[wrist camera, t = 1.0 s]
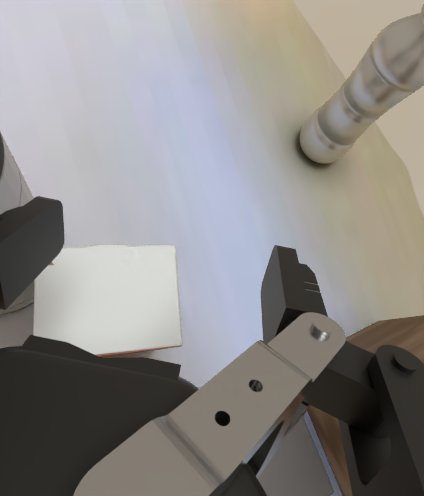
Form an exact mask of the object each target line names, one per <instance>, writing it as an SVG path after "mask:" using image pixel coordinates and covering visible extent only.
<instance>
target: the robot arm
mask: <svg viewBox="0 0 424 496" xmlns="http://www.w3.org/2000/svg"><path fill="white" fill-rule="evenodd" d="M63 244H64V223H63V207H62V203H61V202H60V201H59V200H54V199H49V198H45V197H40V196H38V197H35V198H34V197H33V195H32V193H31V191H30V189H29V187H28V185H27V183H26V181H25V179H24V177H23V175H22V173H21V171H20V169H19V167H18V165H17V163H16V161H15V159H14V157H13V155H12V154H11V152H10V150H9V148H8V146H7V144H6V142H5V140H4V138H3V136H2V134H1V132H0V314H4V313H8V312H13V311H17V310H19V309H21V308H24V307H26V306H28V305H30V304H31V303H33V302H34V280H35V279H36V278H37V277H38V276H39V274H40V273H41V272H42V271H43V270H44V269H45V268H46V267H47V266H48V265H49V264H50V263H51V262H52V261H53V260H54V259H55V258H56V257H57V256H58V254H59V253H60V252H61V250H62V248H63ZM317 284H318V283H317V280H316V277H315V274H314V273H313V272H312V270H311V269H310V268H309V267H308V266H307V265H305V264H300V263H299V261H298V257H297V253H296V250H295V249H292V248H287V247H282V246H277V245H275V246H274V248H273V251H272V254H271V257H270V260H269V263H268V266H267V269H266V272H265V275H264V278H263V282H262V287H261V307H262V325H263V341H262V340H260V341H257V342H256V343H254V344H253V345H252V346H251V347H250V348H248V349H247V350H246V351H245V352H244V353H242V354H241V355H240V356H239V357H237V358H236V359H235V360H234V361H233V362H231V363H230V364H229V365H228V366H227V367H225V368H224V369H223V370H222V371H220V372H219V373H218V374H217V375H216V376H214V377H213V378H212V379H211V380H210V381H208V382H207V383H206V384H205V385H204V386H202V387H201V388H200V389H198V388H197V387H196V386H194V385H193V384H191V383H190V382H188V381H187V380H185V379H183V378H181V377H179V372H180V367H181V365H179V364H174V363H169V362H164V361H159V360H154V359H149V358H102V357H99V356H96V355H94V354H92V353H90V352H88V351H85V350H83V349H81V348H79V347H77V346H75V345H72V344H70V343H68V342H64V341H59V340H54V339H49V338H44V337H39V336H34V335H30V336H29V338H28V339H27V340H26V341H25V343H24V344H23V345H22V346H16V347H7V348H2V349H0V496H267V494H266V492H265V491H264V489H263V487H262V486H261V484H260V482H259V481H258V477H259V476H260V475H261V473H262V472H263V471H264V469H265V468H266V466H267V465H268V463H269V462H270V460H271V459H272V457H273V455H274V454H275V452H276V451H277V449H278V448H279V446H280V445H281V444H282V442H283V441H284V440H285V438H286V437H287V436H288V434H289V433H290V432H291V430H292V429H293V428H294V426H295V425H296V424H297V422H298V421H299V420H300V419H301V417H302V416H303V415H304V413H305V412H306V411H307V409H308V408H309V407H310V405H311V406H313V407H315V408H317V409H319V410H321V411H323V412H325V413H327V414H329V415H331V416H333V417H335V418H337V419H338V421H339V426H340V432H341V437H342V442H343V448H344V453H345V458H346V464H347V469H348V474H349V480H350V485H351V490H352V496H424V363H423V362H422V361H421V360H420V359H418V358H417V357H416V356H415V355H413V354H412V353H410V352H409V351H407V350H405V349H403V348H400V347H397V346H394V345H382V346H380V347H379V348H378V349H377V350H376V352H375V353H371V352H369V351H367V350H364V349H362V348H360V347H358V346H355V345H353V344H351V343H349V342H348V341H346V336H345V333H344V331H343V329H342V328H341V327H340V326H339V325H338V324H337V323H336V322H335V321H334V320H332V319H331V318H329V317H328V316H327V312H326V309H325V306H324V303H323V299H322V296H321V293H320V290H319V286H318V285H317Z"/></svg>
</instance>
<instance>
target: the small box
mask: <svg viewBox="0 0 424 496" xmlns="http://www.w3.org/2000/svg"><path fill="white" fill-rule="evenodd" d="M33 335H34V336H39V337H44V338H49V339H54V340H59V341H64V342H68V343H70V344H72V345H75V346H77V347H79V348H81V349H83V350H85V351H88V352H90V353H92V354H94V355H96V356H99V357H102V356H110V355H119V354H127V353H135V352H142V351H149V350H159V349H166V348H173V347H180V346H182V333H181V318H180V303H179V288H178V272H177V256H176V247H175V246H173V245H91V246H76V247H63V248H62V250H61V252H60V253H59V254H58V256H57V257H56V258H55V259H54V260H53V261H52V262H51V263H50V264H49V265H48V266H47V267H46V268H45V269H44V270H43V271H42V272H41V273H40V274H39V276H38V277H37V278H36V279H35V280H34V318H33Z"/></svg>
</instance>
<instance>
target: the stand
mask: <svg viewBox="0 0 424 496" xmlns="http://www.w3.org/2000/svg"><path fill="white" fill-rule="evenodd" d="M346 341H348V342H349V343H351V344H353V345H355V346H358V347H360V348H362V349H364V350H367V351H369V352H371V353H375V352H376V350H377V349H378V348H379V347H380V346H382V345H394V346H397V347H400V348H403V349H405V350H407V351H409V352H410V353H412V354H413V355H415V356H416V357H417V358H418V359H420V360H421V361H422V362H423V363H424V316H416V317H408V318H399V319H391V320H383V321H378V322H376V323H374V324H372V325H370V326H368V327H366V328H364V329H362V330H360V331H358V332H357V333H355V334H353V335H351V336H349V337H347V338H346ZM307 411H308V413H309V416H310V418H311V420H312V423H313V425H314V427H315V430H316V432H317V435H318V437H319V439H320V442H321V444H322V447H323V449H324V451H325V454H326V456H327V458H328V461H329V463H330V466H331V468H332V470H333V473H334V475H335V478H336V480H337V482H338V485H339V487H340V489H341V492H342V494H343V496H352V490H351V485H350V480H349V474H348V469H347V464H346V458H345V453H344V448H343V442H342V437H341V432H340V426H339V421H338V419H337V418H335V417H333V416H331V415H329V414H327V413H325V412H323V411H321V410H319V409H317V408H315V407H313V406H311V405H310V407H309V408H308V409H307Z"/></svg>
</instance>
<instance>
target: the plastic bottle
mask: <svg viewBox="0 0 424 496" xmlns="http://www.w3.org/2000/svg"><path fill="white" fill-rule="evenodd" d="M423 85H424V5H423V7H422V12H421V13H419V14H415V15H411V16H408V17H405V18H402V19H400V20H397V21H395V22H393V23H391V24H390V25H388V26H387V27H386V28H384V29H383V30H382V31H381V32H380V33H379V34H378V35H377V37H376V38H375V39H374V41H373V42H372V44H371V45H370V47H369V48H368V50H367V51H366V53H365V55H364V56H363V58H362V59H361V61H360V62H359V64H358V65H357V67H356V68H355V70H354V71H353V72H352V74H351V75H350V76H349V77H348V79H347V80H346V82H345V83H344V84H343V85H342V86H341V88H340V89H339V90H338V91H337V92H336V93H335V94H334V95H333V96H332V97H331V98H330V99H329V100H328V101H327V102H326V103H325V104H324V105H323V106H322V107H320V108H319V109H317V110H316V111H315V112H314V113H313V114H311V115H310V116H309V117H308V118H307V120H306V121H305V123H304V125H303V127H302V129H301V131H300V145H301V148H302V150H303V152H304V153H305V155H306V156H307V157H308V158H309V159H311V160H312V161H314V162H317V163H332V162H334V161H336V160H338V159H339V158H341V157H343V156H344V155H345V154H346V153H347V152H348V150H349V149H350V148H351V147H352V145H353V144H354V143H355V141H356V140H357V139H358V138H359V137H360V136H361V135H362V133H363V132H364V131H365V130H366V129H367V128H368V127H369V126H370V125H371V124H372V123H373V122H374V121H375V120H377V119H378V118H379V117H380V116H382V115H383V114H384V113H385V112H387V111H388V110H389V109H390V108H392V107H393V106H394V105H396V104H397V103H399V102H400V101H402V100H403V99H405V98H406V97H408V96H409V95H411V94H412V93H414V92H415V91H416V90H418V89H420V88H421V87H422V86H423Z"/></svg>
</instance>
